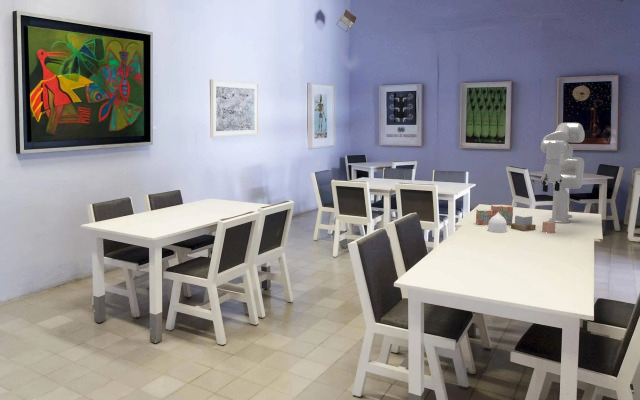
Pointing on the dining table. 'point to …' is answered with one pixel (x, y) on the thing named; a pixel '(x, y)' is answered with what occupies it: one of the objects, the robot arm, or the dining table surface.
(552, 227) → the terracotta block
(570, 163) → the robot arm
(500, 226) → the teardrop
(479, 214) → the stack of blocks
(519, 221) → the grey block
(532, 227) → the plinth
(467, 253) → the dining table surface
